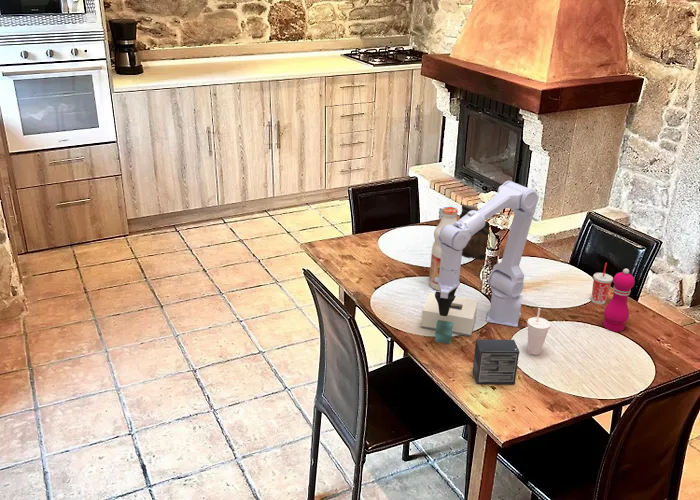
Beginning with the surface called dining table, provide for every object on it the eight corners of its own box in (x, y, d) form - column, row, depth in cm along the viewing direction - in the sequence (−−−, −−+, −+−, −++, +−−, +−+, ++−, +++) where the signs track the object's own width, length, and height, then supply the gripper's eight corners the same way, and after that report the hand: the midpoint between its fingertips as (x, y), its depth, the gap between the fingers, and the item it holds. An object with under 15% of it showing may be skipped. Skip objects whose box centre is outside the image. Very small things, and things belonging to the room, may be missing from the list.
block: (451, 339, 200) (453, 322, 197) (449, 344, 198) (451, 326, 195) (436, 337, 201) (437, 319, 198) (434, 341, 199) (436, 323, 196)
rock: (497, 259, 252) (504, 209, 244) (468, 263, 248) (474, 212, 239) (479, 245, 263) (485, 197, 255) (451, 250, 258) (456, 200, 250)
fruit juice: (444, 277, 237) (452, 202, 226) (462, 288, 230) (470, 211, 218) (423, 282, 233) (429, 206, 221) (440, 294, 225) (448, 216, 214)
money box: (475, 317, 212) (477, 300, 210) (470, 336, 202) (472, 319, 199) (428, 309, 216) (430, 292, 213) (421, 327, 205) (422, 310, 203)
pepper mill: (610, 333, 206) (623, 275, 198) (596, 322, 212) (608, 264, 204) (630, 331, 208) (644, 273, 199) (616, 319, 214) (629, 262, 206)
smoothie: (528, 343, 200) (535, 301, 194) (549, 351, 196) (556, 308, 190) (518, 351, 195) (525, 309, 189) (539, 360, 191) (547, 317, 186)
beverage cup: (587, 302, 224) (594, 264, 218) (590, 294, 229) (598, 257, 223) (606, 307, 221) (614, 268, 215) (609, 299, 226) (617, 261, 220)
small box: (509, 370, 186) (514, 338, 182) (515, 385, 180) (521, 351, 176) (471, 370, 186) (475, 337, 181) (476, 384, 180) (480, 351, 175)
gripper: (440, 254, 197) (436, 295, 203) (431, 275, 184) (427, 318, 190) (464, 258, 195) (460, 299, 201) (457, 279, 182) (452, 323, 188)
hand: (445, 309), depth 195 cm, fingers open, 7 cm apart
